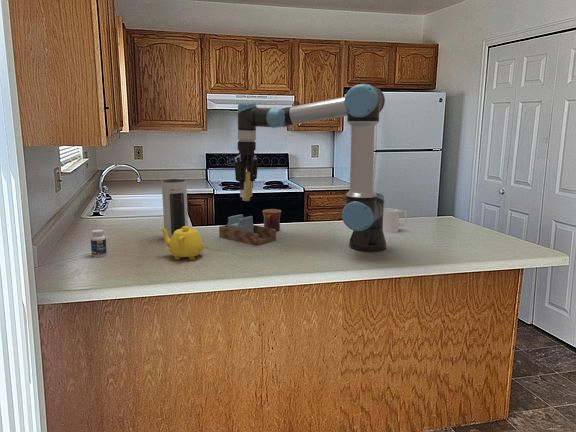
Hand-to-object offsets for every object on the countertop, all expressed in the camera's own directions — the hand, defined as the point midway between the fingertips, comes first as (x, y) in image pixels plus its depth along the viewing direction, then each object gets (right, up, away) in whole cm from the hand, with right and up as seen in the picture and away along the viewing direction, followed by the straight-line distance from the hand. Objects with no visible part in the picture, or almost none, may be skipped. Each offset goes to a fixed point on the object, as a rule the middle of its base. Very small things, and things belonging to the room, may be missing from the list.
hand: (246, 196), depth 206 cm
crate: (-3, -17, +6) cm, 19 cm away
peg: (0, -1, 0) cm, 2 cm away
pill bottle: (-55, -23, -19) cm, 63 cm away
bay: (0, -19, +4) cm, 19 cm away
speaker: (-31, -18, +7) cm, 37 cm away
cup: (+68, -15, +26) cm, 75 cm away
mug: (+10, -16, +19) cm, 27 cm away
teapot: (-23, -24, -19) cm, 39 cm away
